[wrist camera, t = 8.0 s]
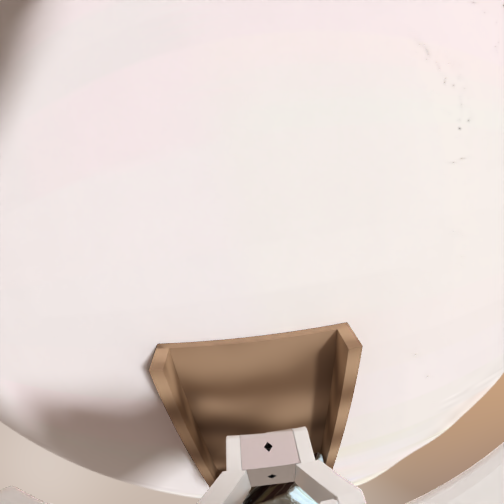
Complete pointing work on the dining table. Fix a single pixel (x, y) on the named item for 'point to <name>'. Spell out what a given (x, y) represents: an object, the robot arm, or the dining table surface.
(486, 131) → the dining table surface
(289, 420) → the cradle
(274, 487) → the bell
